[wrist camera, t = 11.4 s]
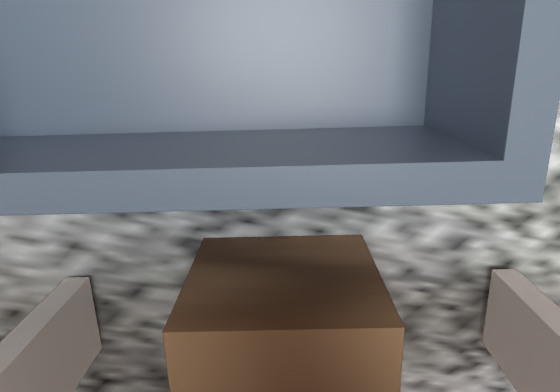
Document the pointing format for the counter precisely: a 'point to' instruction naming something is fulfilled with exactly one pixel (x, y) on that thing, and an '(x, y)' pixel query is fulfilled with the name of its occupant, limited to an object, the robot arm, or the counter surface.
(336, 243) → the walnut cube
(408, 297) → the counter surface
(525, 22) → the tote
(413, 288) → the counter surface
